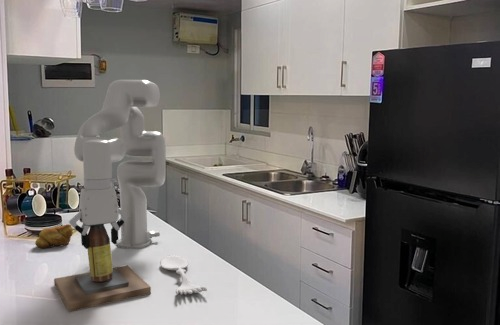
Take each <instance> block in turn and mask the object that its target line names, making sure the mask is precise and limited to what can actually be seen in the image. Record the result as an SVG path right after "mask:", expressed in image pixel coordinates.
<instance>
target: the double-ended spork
mask: <svg viewBox="0 0 500 325" xmlns="http://www.w3.org/2000/svg"><path fill="white" fill-rule="evenodd" d="M159 266H160V267H161V268H163V269H165V270H168V271H175V273H176V274H179V275H180V277H181V284H180V286H178V287H177V288H176V289H175V294H176V296H177V295H179V294H180V295H185V296H186V295H187V294H188V295H192V294H198V293H202V292H208V288H207V287H205V286H200V285H195V284H192V283H190V281H189V279H188V278H187V276H186V274H185V273H186V272H187V270H186V269H185V268H187V267H188V266H189V262H188V260H187V258H185V257H183V256H180V255H173V254H172V255H167V256H164V257H162V258H161V260H160V261H159Z"/></svg>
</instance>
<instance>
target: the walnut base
mask: <svg viewBox="0 0 500 325" xmlns="http://www.w3.org/2000/svg"><path fill="white" fill-rule="evenodd" d="M112 268H113V273H112V274H113V276H112V278H111V279H110V280H108V281H104V282H95V281H92V280H91V276H90V271H88V272H84V273H78V274H72V275H67V276H62V277H58V278H57V277H55V278H54V279H53V284H54V287H55V289H56V291H57V292H58V294H59V297H60V298H61V300H62V303H64V305H65V306H66V309H67V311H68V312H69V313H70V312H74V311H78V310H83V309H88V308H93V307H96V306H101V305H105V304H109V303H115V302H119V301H124V300H128V299H129V300H130V299H132V298H137V297H138V298H139V297H141V296H145V295H150V294H151V293H152V292H151V291H152V290H151V288H152V287H151V286H150V285H149V284H148V283H147V282H146V281H145V280H144V279H143V278H142V277H141V276H140V275H139V274H138V273H137V272H136V271H135V270H134V269H132V268H131V267H130V266H129V264H127V265H121V266H116V267H112Z"/></svg>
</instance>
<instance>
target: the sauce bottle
mask: <svg viewBox="0 0 500 325" xmlns="http://www.w3.org/2000/svg"><path fill="white" fill-rule="evenodd" d="M87 235H88V240H89V248H88V249H87V255H88V256H87V257H88V268H89V272H90V276H91V280H92V281H95V282H104V281H108V280H110V279H111V278H112V276H113V274H112V273H113V268H114V267H113V258H112V250H111V237H110V236H109V233H108V232H107V229H106V227H105V224H100V225H92V226H90V227H89V229H88V232H87Z"/></svg>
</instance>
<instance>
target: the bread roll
mask: <svg viewBox="0 0 500 325" xmlns="http://www.w3.org/2000/svg"><path fill="white" fill-rule="evenodd" d="M38 235H39V237H38V238H37V239H36V240H35V245H36V247H37V248H38V249H39V248H40V249H50V248H51V247H55V248H57V247H63V246H66V245H68V244H69V243H70V242H71V238H72V236H73V226H72V225H71V224H70V223H69V224H64V225H60V226H59V225H57V226H54V227H45V228H42V229H41V231H40V232H39V233H38Z"/></svg>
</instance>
